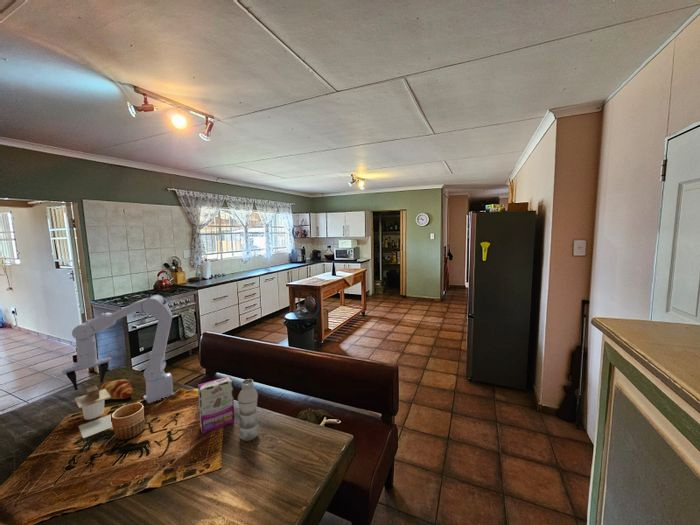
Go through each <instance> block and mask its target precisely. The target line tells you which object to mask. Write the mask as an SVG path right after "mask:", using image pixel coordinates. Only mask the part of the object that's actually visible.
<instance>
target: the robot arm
mask: <svg viewBox="0 0 700 525" xmlns="http://www.w3.org/2000/svg"><path fill="white" fill-rule="evenodd" d="M136 312H137V313H146V314H148V315H151V316H153V318H155V319H157V321H158V322H157V326H156V329H155V330H156V331H155V335H154V341H153V345H152V350H151V356H150V358H149V360H148V363H147V367H146V368H145V369H144V371H143V377H144V379H145V392H146V393H145V394H144V395H143V399H144V400H145V401H146V402H147V403H148V404H151V403H154V402H157V401H159V400H162V399H161V398H163V399H166V398H168V397H171V396H173V395H174V394H175V393H174V381H173V376H172V373H171V372H167V373H166V372H165V368H166V367H167V362H166V349H167V345H168V339H169V335H170V330H171V327H172V326H171V325H172V320H173V317H174V316H173V312H172V311H171V308H170V305H169V303H168V300H167V299H166V298H165V297H164V296H162V295H160V294H153V295H151V296H150V297H146V298H142V299H141V300H137V301H135V302H133V303H131V304H129V305H126V306H124V307H122V308H120V309H118V310H116V311H115V312H105V313H104V312H102V313H99V314H98V316H96V317H94V318H92V319H87V320H85V322H83V323H81V324H79V325H77V326H75V327H74V328H73V329H72V330H71V335H72V337H73V338H74V339H75V348H76V349H75V350H76V362H77V363H76V364H74V365H71V366H68V367H64V368H61V375H62V376H65V375H66V377H67V378H68V379H69V380H70V381H71V382H70V383H72V385H73V388H74V391H78V390H79V389H78V383H77V374H76V372H78V371H82V370H86V369H91V368H95V367H97V366H98V370H99V382H100V383H101V384H102V383H104V379H105V375H106V373H107V370H108V369H109V364H111V363H112V357H111V356H109V357H105V358H98V356H97V344H96V342H97V341H96V334H98V333H100V332H102V331H104V330H106V329H108V328H110V327H113V326H115V324H116V323H117V321H118V320H120V319H122V318H124V317H126V316H127V317H128V316H129V315H131V314H134V313H136ZM97 358H98V359H97ZM170 395H171V396H170ZM165 397H166V398H165ZM156 400H157V401H156ZM153 401H154V402H153ZM150 402H151V403H150Z"/></svg>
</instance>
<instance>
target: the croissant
mask: <svg viewBox="0 0 700 525" xmlns="http://www.w3.org/2000/svg"><path fill="white" fill-rule="evenodd" d="M103 389H106V390H107V392H108V393H109V395H110V396H111V398H109V399H108V400H124V399H128V398H130V397H132V396H133V394H134V393H133V392H134V390H133V387H132V384H131V381H129V380H127V379H126V378H125V379H118V380H112V381H107V382H103V384H102V385H101V386H100V388H99V391H100V390H103Z"/></svg>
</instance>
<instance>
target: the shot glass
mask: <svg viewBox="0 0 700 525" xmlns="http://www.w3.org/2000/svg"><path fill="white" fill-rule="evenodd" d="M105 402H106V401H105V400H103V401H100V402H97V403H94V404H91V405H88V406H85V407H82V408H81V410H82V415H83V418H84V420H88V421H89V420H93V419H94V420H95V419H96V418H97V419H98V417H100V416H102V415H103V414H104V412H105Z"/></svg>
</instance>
